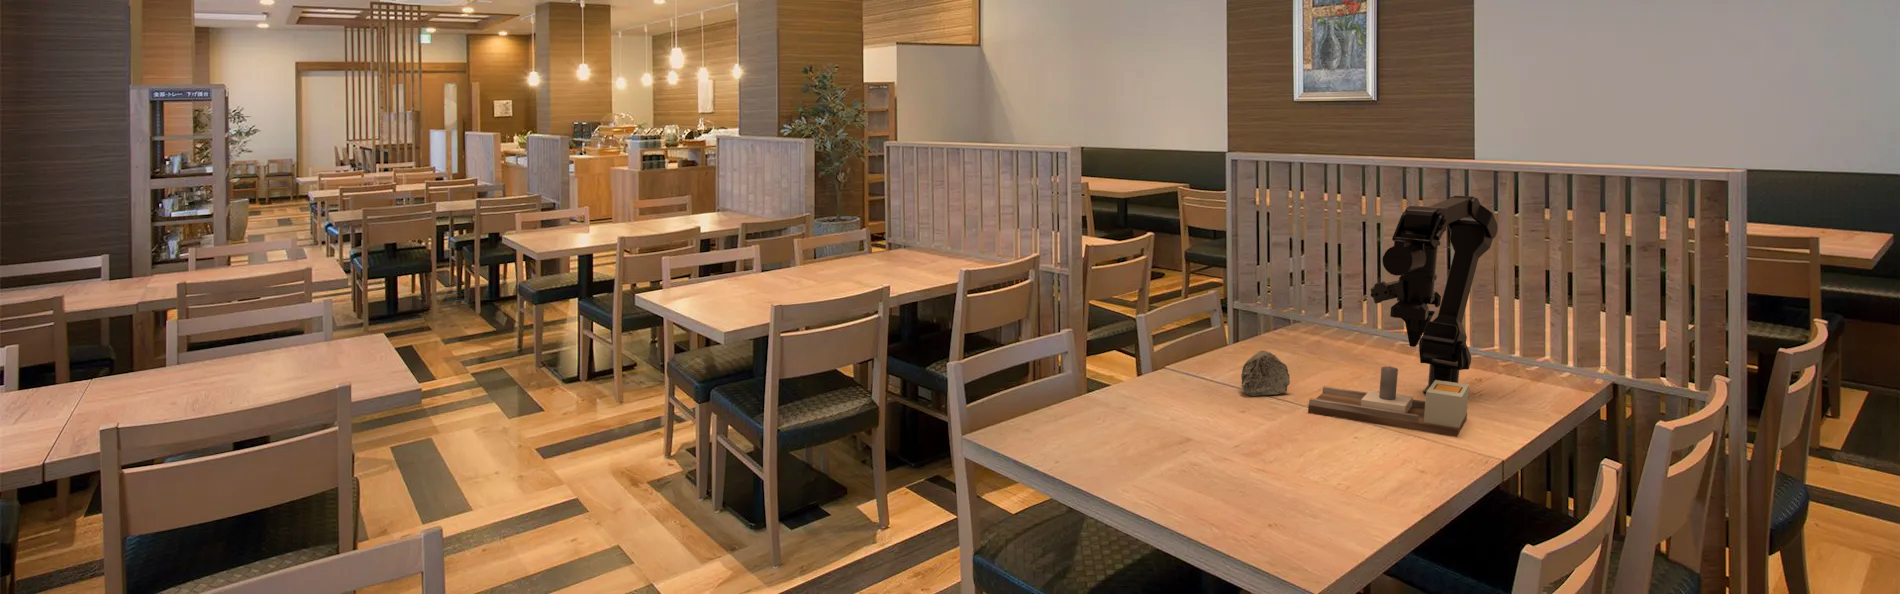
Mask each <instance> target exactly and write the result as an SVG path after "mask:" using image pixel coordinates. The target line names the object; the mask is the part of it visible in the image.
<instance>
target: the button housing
mask: <svg viewBox="0 0 1900 594" xmlns="http://www.w3.org/2000/svg"><path fill="white" fill-rule="evenodd" d="M1438 384H1440V385H1447V386H1454V387H1461V392H1460V393H1457V392H1450V391H1443V390H1436V389H1435V388H1436V387H1437V385H1438ZM1469 393H1470V384H1468V383H1459V382H1458V383H1454V382H1447V381H1440V380H1435V381H1434V382H1433V384H1432V385H1431V386H1430V388H1429V389H1428V390H1427V392H1426V394H1425V400H1424V401H1425V412H1424V422H1425V423H1431V424H1437V425H1443V426H1450V427H1456V428H1459V427H1460V425H1461V423H1462V421H1463V420H1464V418H1465V416H1466V414H1467V415H1468V402H1469Z"/></svg>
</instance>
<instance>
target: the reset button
mask: <svg viewBox="0 0 1900 594" xmlns="http://www.w3.org/2000/svg"><path fill="white" fill-rule="evenodd" d="M1435 389H1436V390H1443V391H1450V392H1457V393H1460V392H1461V387H1454V386H1447V385H1440V384H1438V385H1437V387H1436V388H1435Z"/></svg>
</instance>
